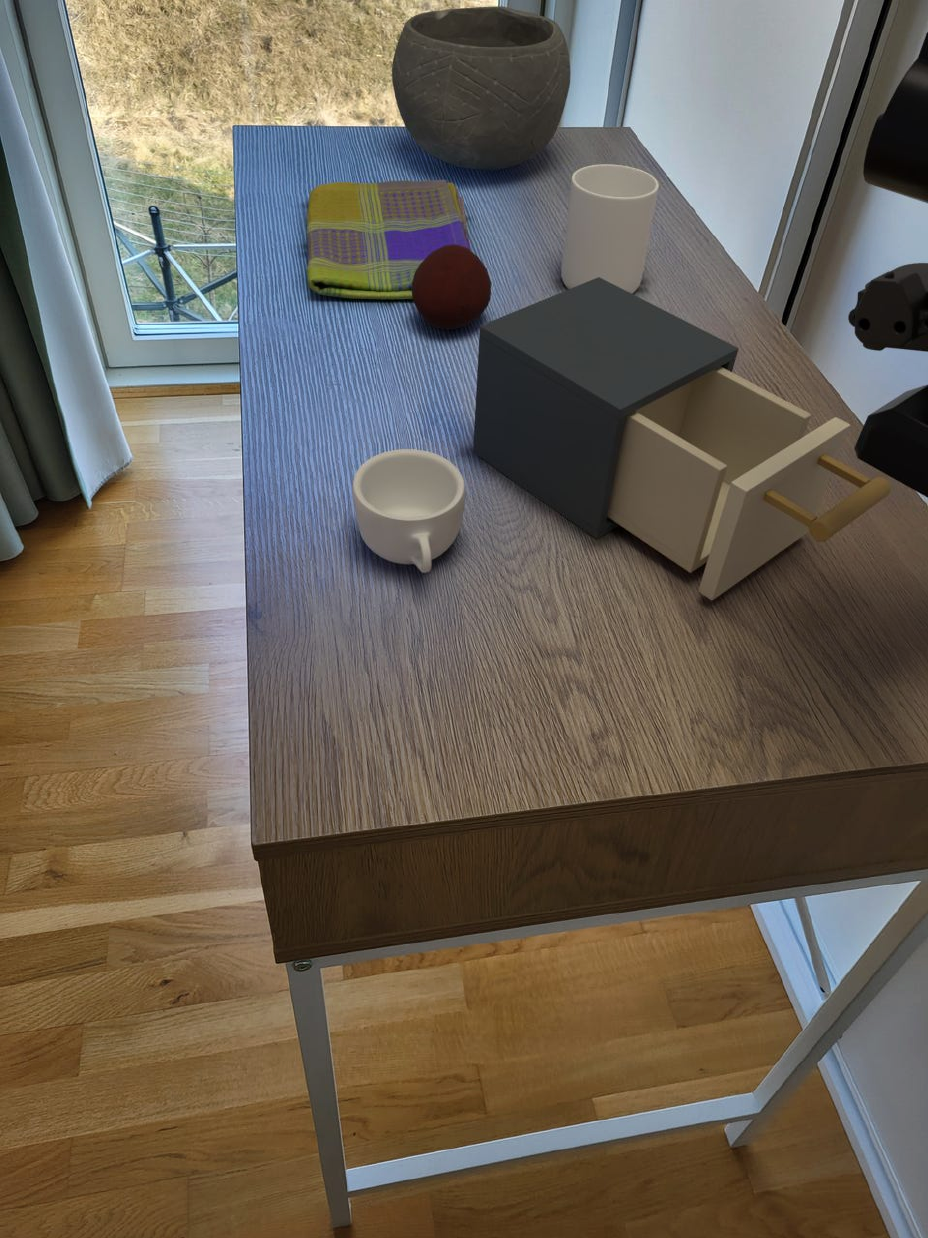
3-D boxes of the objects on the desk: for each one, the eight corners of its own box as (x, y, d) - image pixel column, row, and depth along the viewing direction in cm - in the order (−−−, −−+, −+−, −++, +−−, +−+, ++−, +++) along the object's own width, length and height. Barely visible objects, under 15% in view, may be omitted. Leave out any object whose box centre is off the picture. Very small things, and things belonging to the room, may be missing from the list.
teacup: (347, 515, 70) (343, 455, 66) (448, 502, 72) (450, 443, 68) (370, 609, 63) (368, 549, 59) (481, 593, 65) (486, 533, 61)
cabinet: (704, 474, 75) (739, 347, 67) (596, 539, 69) (620, 409, 61) (580, 398, 82) (598, 276, 74) (472, 452, 76) (479, 325, 68)
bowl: (467, 209, 109) (473, 63, 98) (359, 152, 120) (354, 15, 109) (595, 169, 119) (613, 32, 108) (485, 120, 129) (491, -9, 119)
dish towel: (300, 302, 92) (297, 275, 90) (309, 199, 109) (308, 174, 107) (479, 302, 93) (481, 275, 91) (461, 201, 110) (462, 176, 108)
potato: (399, 337, 88) (398, 265, 83) (426, 296, 94) (427, 226, 89) (475, 351, 87) (479, 278, 82) (498, 308, 93) (503, 238, 88)
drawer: (867, 567, 67) (917, 459, 60) (771, 642, 61) (815, 532, 55) (676, 452, 76) (702, 346, 69) (577, 508, 70) (595, 400, 64)
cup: (543, 281, 97) (554, 179, 90) (610, 245, 104) (625, 147, 96) (610, 309, 93) (626, 205, 86) (675, 270, 100) (695, 170, 93)
